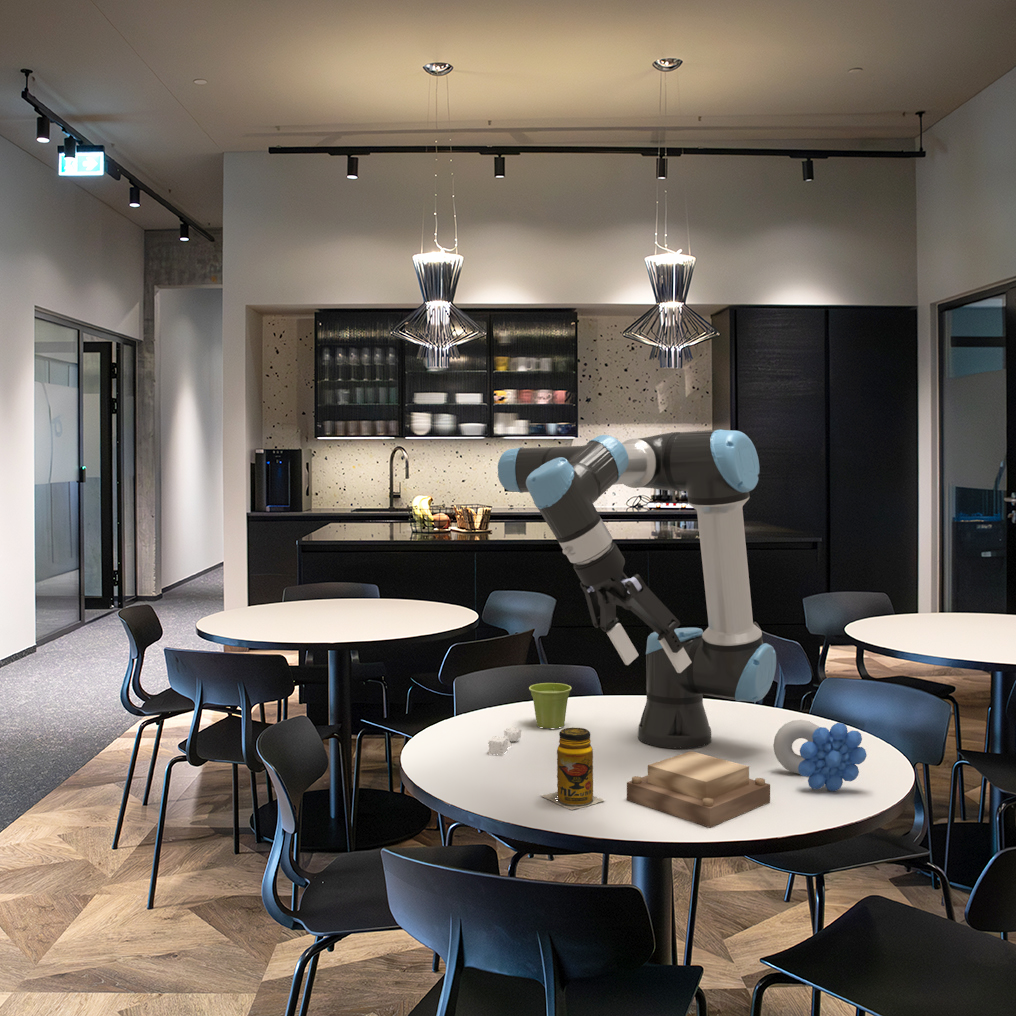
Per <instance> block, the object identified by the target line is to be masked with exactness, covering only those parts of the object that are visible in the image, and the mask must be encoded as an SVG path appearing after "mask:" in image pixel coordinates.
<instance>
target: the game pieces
mask: <svg viewBox="0 0 1016 1016" xmlns="http://www.w3.org/2000/svg"><path fill="white" fill-rule="evenodd" d="M503 732H504V734H503V737H499V736H498V737H497V736H492V737H491V739H488V742H487V744H488V753H487V754H488V755H489V754H498V755H503V754H504V753H505V752H506V751H509V749H507V748H508V747H510V746H512V747H513V745H512V742H510V741H516V740H518V741H519V739H520V738H521V736H522V730H521V729H520V728H516V727H514V726H510V727H508V728H506V729H505V730H503ZM516 742H517V741H516ZM504 755H505V754H504Z"/></svg>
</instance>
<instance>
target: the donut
mask: <svg viewBox="0 0 1016 1016" xmlns="http://www.w3.org/2000/svg"><path fill="white" fill-rule="evenodd" d="M819 727H820V726H819V725H817V724H815V723H814V722H812V721H810V720H803V719H795V720H790V721H789V722H787V723H784V724H783V725H782V726H781V727H780V728H778V730H777V732H776V734H775V736H774V740H773V743H772V744H773V745H772V746H773V751H774V755H775V758H776V759H777V762H778V763H779V764H780V765H781V766H782V767H783V768H785V769H786V770H788V771H790V772H791V773H794V774H799V771H798V766H799V764H800V762H801V761H803V760H805V759H804V758H803V757H801V755H800V754H797V753H796V752H795V751H794V750H793V744H794V742H795V741H796V740H799V739H805V740H806V742H807V741H809V742H813V739H812V735H813V732H814V731H815V730H816V729H817V728H819ZM799 775H800V774H799Z"/></svg>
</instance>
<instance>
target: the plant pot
mask: <svg viewBox="0 0 1016 1016" xmlns="http://www.w3.org/2000/svg"><path fill="white" fill-rule="evenodd" d="M528 689H529V691H530V694H531V697H532V700H533V707H534V715H535V724H536V727H538V726H539V727H543V728H542V729H548V728H559V727H562V728H563V727H564V726H565V723H566V716H567V715H566V713H567V707H568V698H569V696H570V693H571V690H572V686H571V685H570V684H569V685H568V684H566V683H559V682H556V683H555V682H543V683H541V682H540V683H535V684H531V685H530V686H529V687H528ZM539 727H538V728H539ZM559 729H560V728H559Z"/></svg>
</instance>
